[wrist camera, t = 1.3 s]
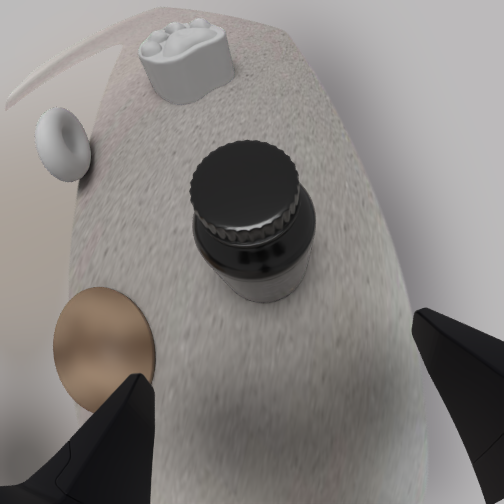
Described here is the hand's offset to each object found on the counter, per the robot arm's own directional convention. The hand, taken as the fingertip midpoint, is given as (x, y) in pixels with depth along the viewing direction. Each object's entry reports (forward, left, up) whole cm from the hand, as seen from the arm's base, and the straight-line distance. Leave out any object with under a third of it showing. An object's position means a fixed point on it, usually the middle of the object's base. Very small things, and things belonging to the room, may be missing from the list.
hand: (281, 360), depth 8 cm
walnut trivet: (+5, +16, -13) cm, 21 cm away
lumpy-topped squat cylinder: (+37, -2, -13) cm, 40 cm away
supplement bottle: (+7, -1, -13) cm, 15 cm away
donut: (+28, +15, -13) cm, 34 cm away
